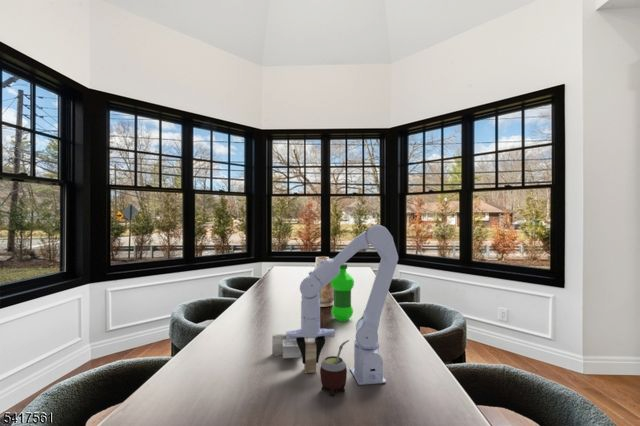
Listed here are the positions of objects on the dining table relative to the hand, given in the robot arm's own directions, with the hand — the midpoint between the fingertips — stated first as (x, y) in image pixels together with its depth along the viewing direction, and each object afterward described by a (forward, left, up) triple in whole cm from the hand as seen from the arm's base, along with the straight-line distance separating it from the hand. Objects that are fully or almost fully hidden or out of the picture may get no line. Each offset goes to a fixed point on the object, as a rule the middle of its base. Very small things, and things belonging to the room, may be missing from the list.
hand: (310, 362), depth 96 cm
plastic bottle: (+46, -21, -3) cm, 51 cm away
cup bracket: (+9, +5, -3) cm, 11 cm away
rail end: (0, 0, -2) cm, 2 cm away
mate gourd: (-12, -5, -3) cm, 13 cm away
